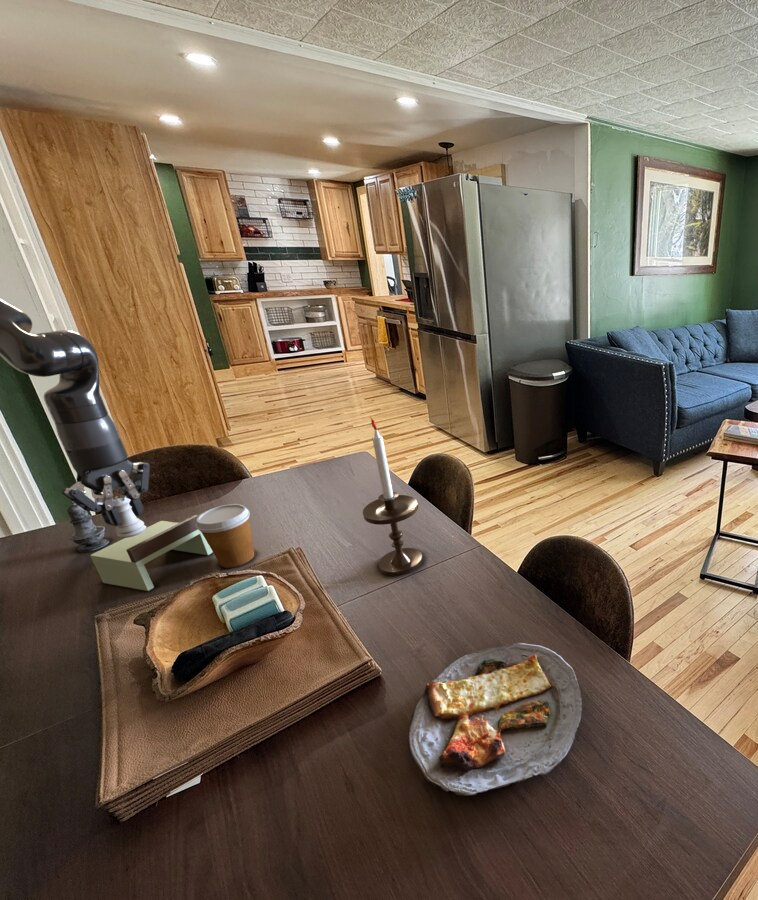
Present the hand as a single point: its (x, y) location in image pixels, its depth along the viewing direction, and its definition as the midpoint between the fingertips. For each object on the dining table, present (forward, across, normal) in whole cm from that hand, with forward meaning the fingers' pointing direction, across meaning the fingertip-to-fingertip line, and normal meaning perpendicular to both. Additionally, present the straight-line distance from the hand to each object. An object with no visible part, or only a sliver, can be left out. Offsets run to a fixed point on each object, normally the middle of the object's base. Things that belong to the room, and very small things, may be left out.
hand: (126, 519), depth 95 cm
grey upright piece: (+15, -6, -26) cm, 31 cm away
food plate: (+15, +15, +86) cm, 88 cm away
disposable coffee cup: (+15, -10, +12) cm, 21 cm away
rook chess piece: (+3, 0, 0) cm, 3 cm away
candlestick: (+15, -16, +49) cm, 53 cm away
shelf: (+15, -4, -2) cm, 15 cm away
